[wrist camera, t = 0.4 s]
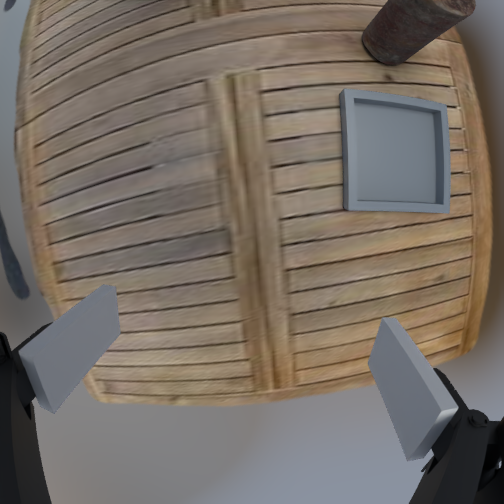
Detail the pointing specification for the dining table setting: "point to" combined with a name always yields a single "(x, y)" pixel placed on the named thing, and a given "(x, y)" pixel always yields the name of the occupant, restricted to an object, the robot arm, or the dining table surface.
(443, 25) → the brown rough cylinder
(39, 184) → the dining table surface
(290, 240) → the dining table surface
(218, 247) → the dining table surface
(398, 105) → the tray
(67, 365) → the robot arm
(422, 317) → the dining table surface
